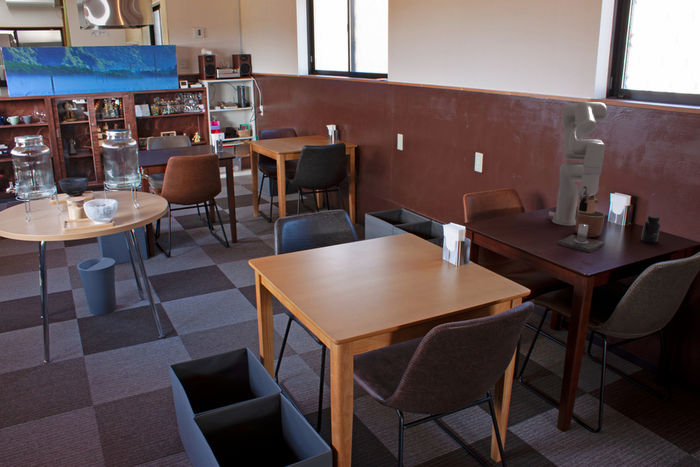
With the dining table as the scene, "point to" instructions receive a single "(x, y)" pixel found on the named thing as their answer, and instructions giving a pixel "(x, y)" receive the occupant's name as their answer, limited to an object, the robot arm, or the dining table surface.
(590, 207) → the wooden mug
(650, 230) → the supplement bottle
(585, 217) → the planter
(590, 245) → the cylinder on square base
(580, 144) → the robot arm
